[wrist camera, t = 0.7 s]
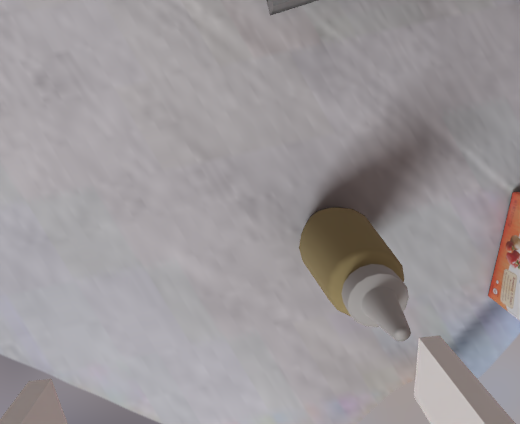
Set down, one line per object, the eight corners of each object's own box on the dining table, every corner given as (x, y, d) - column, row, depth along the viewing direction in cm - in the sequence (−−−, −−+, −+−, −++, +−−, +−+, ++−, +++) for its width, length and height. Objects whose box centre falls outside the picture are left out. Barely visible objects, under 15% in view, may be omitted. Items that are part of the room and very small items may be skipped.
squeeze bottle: (372, 244, 39) (478, 353, 22) (311, 274, 39) (365, 401, 22) (347, 185, 36) (443, 254, 19) (281, 218, 37) (318, 313, 20)
